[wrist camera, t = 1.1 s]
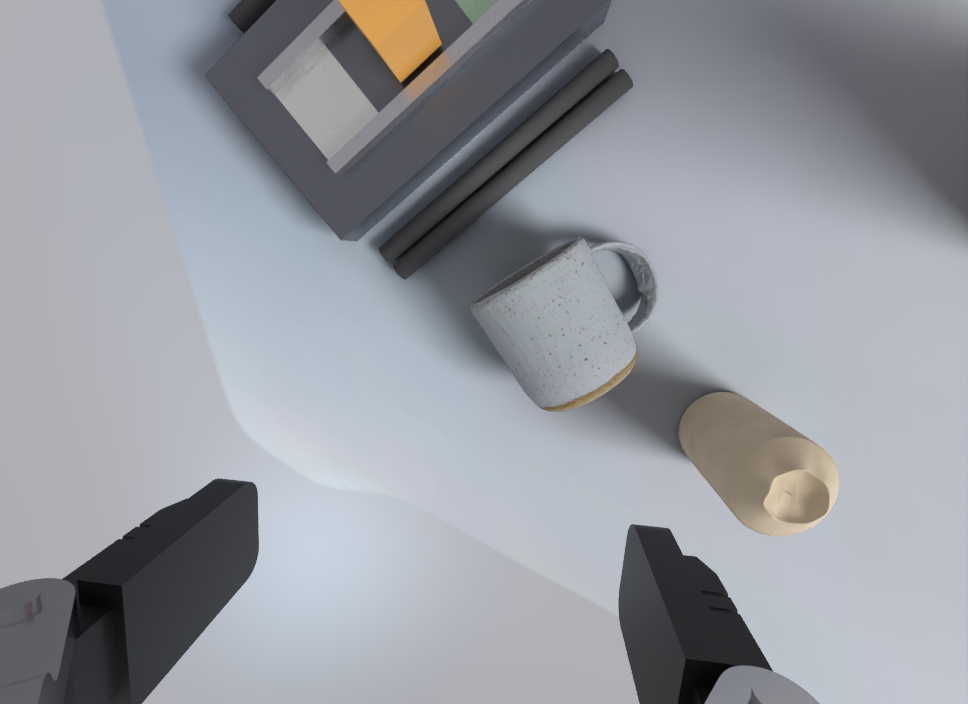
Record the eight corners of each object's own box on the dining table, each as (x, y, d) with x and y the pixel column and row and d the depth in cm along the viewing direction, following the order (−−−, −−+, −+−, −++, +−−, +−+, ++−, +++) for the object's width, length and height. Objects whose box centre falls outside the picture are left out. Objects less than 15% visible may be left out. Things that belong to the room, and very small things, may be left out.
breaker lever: (394, -19, 27) (366, -78, 22) (441, 44, 28) (424, -1, 23) (353, 22, 28) (317, -27, 23) (400, 83, 28) (375, 47, 23)
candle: (674, 466, 35) (733, 550, 25) (680, 389, 34) (744, 445, 24) (757, 469, 35) (849, 555, 25) (765, 391, 34) (866, 448, 24)
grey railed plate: (430, -186, 29) (426, -204, 27) (630, 89, 31) (634, 83, 29) (213, 43, 32) (202, 35, 31) (407, 279, 34) (403, 280, 33)
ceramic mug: (537, 399, 35) (543, 438, 27) (472, 298, 34) (460, 309, 26) (676, 316, 33) (723, 334, 26) (612, 208, 32) (642, 193, 25)
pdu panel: (475, -156, 29) (468, -220, 25) (603, 21, 30) (616, -13, 26) (233, 91, 32) (193, 69, 28) (357, 241, 34) (335, 239, 30)
